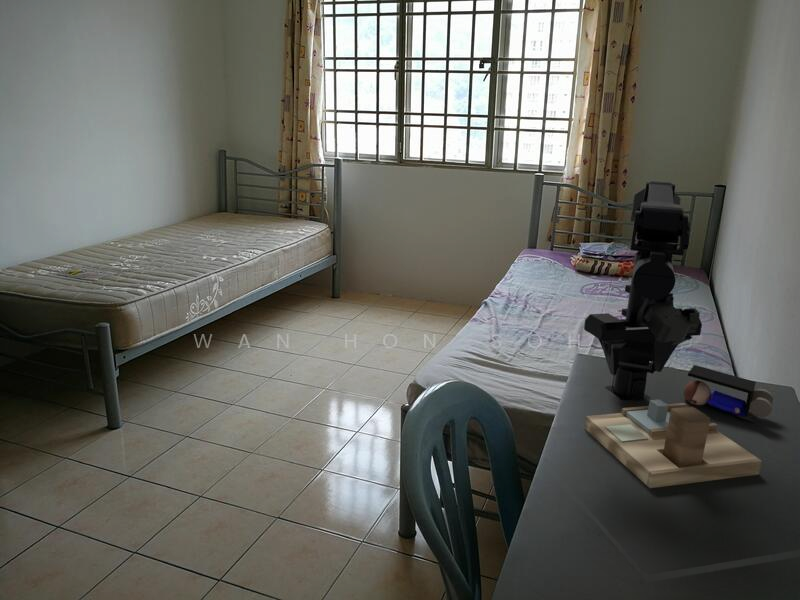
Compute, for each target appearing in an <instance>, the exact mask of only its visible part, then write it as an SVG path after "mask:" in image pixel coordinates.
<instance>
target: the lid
mask: <svg viewBox="0 0 800 600" xmlns="http://www.w3.org/2000/svg"><path fill="white" fill-rule="evenodd" d="M667 404H668V403H665V402H664V401H663V400H661V399H651V400H649V403H648V406H649V408H648V410H639V411H628V412H626V416H627V417H628V418H629V419H631V420H632V421H633V422H635V423H636V424H637V425H638V426H640V427H641V428H642V429H643V430H645V431H646V432H647V433H649V429H659V428H668V423H669V418H670V413H669V412H667V410H668V405H667Z"/></svg>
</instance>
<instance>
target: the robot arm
mask: <svg viewBox="0 0 800 600" xmlns="http://www.w3.org/2000/svg"><path fill="white" fill-rule="evenodd" d="M630 223H633V224H632V225H633V226H632V233H631V241H630V247H629V248H630V251H633V252H635V251H636V252H635V256H634V261H633V262H634V263H633V269H632V274H631V275H632V276H631V282H630V284H625V289H624V291H625V292H626V293H628V295H629V296H628V300H627V301H628V302H627V308H622V309H621V314H620V315H621V316H623V317H625V318H624V319H619V318H617V317H616V316H614V315H612V314H610V313H608V312H606V313H590V314H589V315H588V316H587V317H586V318H585V320H584V326H583V330H584V331H585V332H588V333H589V334H591V335H592V336H594V337H595V338H597V340H598V341H599V344H600V346H601V349H602V352H603V354H604V358H605V361H606V364H607V366H608V369H609V373H610V374H611V375H612V382H611V383H612V384H611V385H610V386H609V385H607V386H606V385H605V387H604V388H605V389H607V391H609V392H610V393H612V394H613V395H614V396H616V397H617V398H618V399H619V400H621V401H635V400H636V401H637V400H645V399H650V398H651V396H650V395H648V394H647V393H646V387H647V377H648V373H650V374H652V375H653V374H654V373H655V372H658V373H662V371H663V369H664V367H665V366H666V364H667V363H668V362H669V359H670V357H672V355H673V353H674V351H675V350H676V349H677V347H679V345H680V344H682V343H684V342H686V341H690V340H692V339H693V336H694V337H695V336H701V332H702V328H703V323H702V322H701V318H700V315H701V313H700V312H699V311H698V309H696V308H695V307H693V308H692V307H691V308H683V309H682V308H681V307H679V308H678V307H675V306H674V299H675V298H674V293H673V290H674V288H675V285H676V276H675V271H674V267H673V264H674V259H675V258H674V256H682V257H683V256H684V254H685V253H684V252H685V250H688V249H689V245H690V232H691V222H690V221H689V216H688V214H684V207H683V206H682V205H681V197H680V196H679V195H678V194H677V192H676V184H675V183H673V182H670V181H657V180H650V181H646V182H645V186H644V188H643V189H642V190H640V191H638V192H637V193H636V194H634V196H633V201H632V207H631V214H630ZM636 242H637V243H636ZM678 246H679V247H678Z"/></svg>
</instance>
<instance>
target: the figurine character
mask: <svg viewBox="0 0 800 600" xmlns="http://www.w3.org/2000/svg"><path fill="white" fill-rule="evenodd" d="M687 377H692V378H694V379H697V380H691V381H689V382H688V383H687V384H686V385H685V386H684V388H683V397H684V399H685V401H687V402H688V403H690V404H692V405H696V406H704V405H706V404H708V405H709V406H711V407H714V408H717V409H719V410H722V411H725V412H728V413H730V414H734V415H736V416H737V417H738V418H740V419H743V420H745V421H749V422H751V423H756V422H757V421H756V420H754V419H752V418H750V417H753V416H757V417H759V418H767V417H768V416H770V414H771V413H772V410H773V405H772V404H773V402H774V395H773V393H771V392H770V391H769V390H767V389H765V388H757V389H755V386H756V383H757V382H756V381H754V380H750V379H748V378H744V377H739V376H737V375H734V374H733V375H732V374H729V373H725V372H722V371H718V370H715V369H711V368H707V367H704V366H700V365H697V364H693V366H692V367H691V368H690V370H689V371H688V374H687ZM704 381H705V382H709V383H711V384H715V385H719V386H723V387H726V388H728V389H731V390H732V389H733V390H735V391H740V392H743V393H747V397H746V400H743V399H741V398H739V397H735V396H732V395H729V394H727V393H724V392H721V391H718V390H714V391H711V388H710V386H709V385H708V384H707V383H705V382H704ZM750 415H751V416H750ZM747 416H750V417H747Z"/></svg>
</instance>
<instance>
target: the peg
mask: <svg viewBox="0 0 800 600" xmlns="http://www.w3.org/2000/svg"><path fill="white" fill-rule="evenodd" d="M710 422H711V417H709V416H708V415H706V414H705V413H704V412H702V411H700V410H699V409H698V408H696V407H694V406H686V407H683V408H672V409H671V412H670V418H669V423H668V429H667V435H666V440H665V446H664V451H663V455H664V456H665V457H666V458H667V459H669V460H670V461H671V462H672V463H673V464H675V465H676V466H677V467H678V468H682V467H690V466H699V465H701V463H702V458H703V453H704V448H705V443H706V438H707V433H708V428H709V423H710Z"/></svg>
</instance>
